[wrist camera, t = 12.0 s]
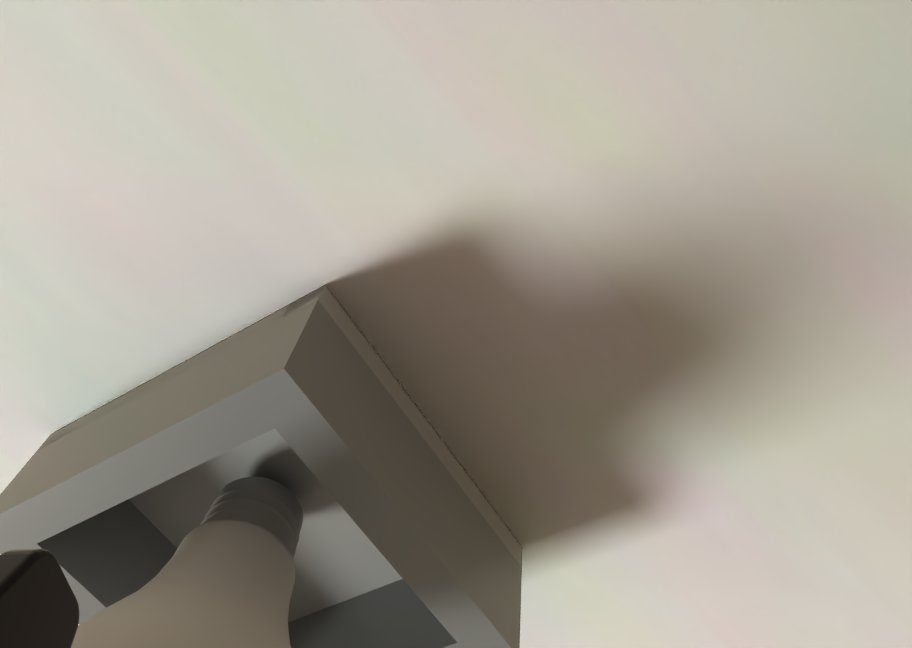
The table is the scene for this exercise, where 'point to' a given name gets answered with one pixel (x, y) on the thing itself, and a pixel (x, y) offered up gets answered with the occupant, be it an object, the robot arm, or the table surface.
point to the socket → (294, 466)
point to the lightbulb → (215, 580)
